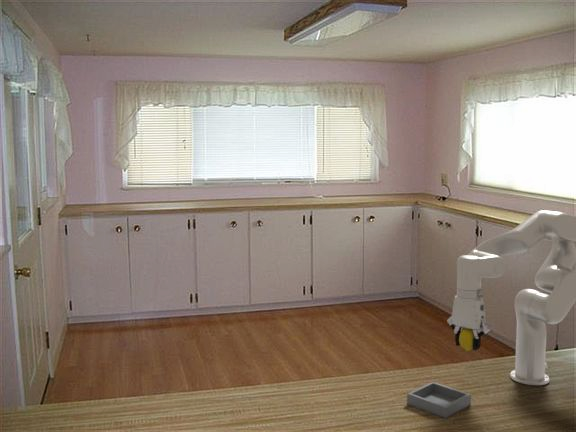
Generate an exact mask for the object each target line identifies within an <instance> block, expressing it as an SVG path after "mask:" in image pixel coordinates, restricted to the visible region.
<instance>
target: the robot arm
mask: <svg viewBox="0 0 576 432" xmlns="http://www.w3.org/2000/svg"><path fill="white" fill-rule="evenodd" d="M547 237H550V238H551V242H552V243H551V250H550V252H549V254H548V256H547V257H546V259H545V260H544V262H543V263H542V265H541V266H540V267H539V269H538V271H537V272H536V273H535V277H534V284H535V286H536V287H537V288H539V289H540V290H539V289H535V288H534V289H533V288H524V289H521V290H520V291H518V293H517V294H516V296H515V298H514V310H515V316H516V334H515V335H516V337H515V339H516V341H515V360H514V361H515V365H514V366H515V369H513V370H512V371H510V374H509V375H510V376H509V377H510V378H511V379H512V380H513V381H515V382H517V383H520V384H523V385H527V386H543V385H547V384H549V383H550V377H549V375H547V374H546V369H547V368H548V363H547V362H546V355H547V354H546V351H547V326H546V324H550V325H557V324H559V323H560V322H562V321H564V319H565V318H566V316H567V315H568V313H569V312H570V310H571V309H572V307H573V306H574V304H575V303H576V270H575V269H573V268H574V265H575V263H576V247H575V243H576V215H573V214H570V213H566V212H563V211H562V212H561V211H553V210H538V211H536V212H534V213H533V214H531V215H530V216H529V217H528V218H526V219H525V220H524V221H522V222H521V223H519V224H518V225H517V226H515V227H514V228H513V229H512V230H510V231H507V232H504V233H502V234H499V235H497V236H494V237H491V238H489V239H487V240H484V241H482V242H481V243H480V244H479V245H477V246H475V248H473V249H471V251H470V252H469V253H468V254H466V255H465V254H463V255H460V256H459V257H458V258H457V261H456V295H455V296H454V299H453V303H452V311H451V316H449V318H447V320H446V322H447V324H449V326H450V328H451V329H452V330H453V333H454V334H455V335H454V337H455V338H454V339H455V340H454V341H455V346H457V347H458V346H461V345H460V343H459V335H460V333H461V331H462V330H463V328H464V329H466V328H468V329H472V330H473V333H474V336H475V338H473V349H472V350H473V351H477V350H479V349H480V348H481V345H482V343H481V342H482V341H481V338H483V336H485V334H487V333H489V332H490V331H491V328H490V327H489V324H488V323H487V319H486V318H487V317H486V306H485V302H484V301H485V300H484V297H485V293H484V292H483V291H482V278H489V279H496V278H500V277H502V276H503V275H504V274H505V273H506V271H507V267H508V264H507V261H506V260H505V259H504V258H503V256H506V255H507V256H508V255H517V254H522V253H527V252H529V251H530V250H531V249H532V248H534V247H535V246H536V245H537V244H539V243H541V241H543V240H544V239H545V238H547ZM541 290H542V291H541ZM481 328H482V329H483V330H482V329H481Z"/></svg>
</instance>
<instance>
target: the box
mask: <svg viewBox="0 0 576 432" xmlns="http://www.w3.org/2000/svg"><path fill="white" fill-rule="evenodd" d="M471 402H472V394H471V393H468V392H465V391H462V390H459V389H456V388H454V387H450V386H447V385H444V384H442V383H438V382H435V381H431V382H429V383H426V384H424V385H423V386H420V387H417V388H416V389H413V390H412V391H410V392H407V394H406V405H407V406H411V407H412V408H413V407H414V408H416V409H418V410H421V411H423V412H427V413H429V414H432V415H434V416H437V417H439V418H443V419H445V420H447V419H448V418H450V417H452V416H455V415H456V414H458V413H460V412H461V411H463V410H465V409H467V408H468V407H470V406H471V404H472V403H471Z"/></svg>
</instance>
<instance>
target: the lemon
mask: <svg viewBox="0 0 576 432" xmlns="http://www.w3.org/2000/svg"><path fill="white" fill-rule="evenodd" d="M473 338H475V336H474V333H473V329H468V328H464V329H463V328H462V330H461V333H460V335H459V343H460V345H459V346H460V347H461V348H462V349H464V350H465V351H466V352H469V351H470V350H473Z"/></svg>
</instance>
